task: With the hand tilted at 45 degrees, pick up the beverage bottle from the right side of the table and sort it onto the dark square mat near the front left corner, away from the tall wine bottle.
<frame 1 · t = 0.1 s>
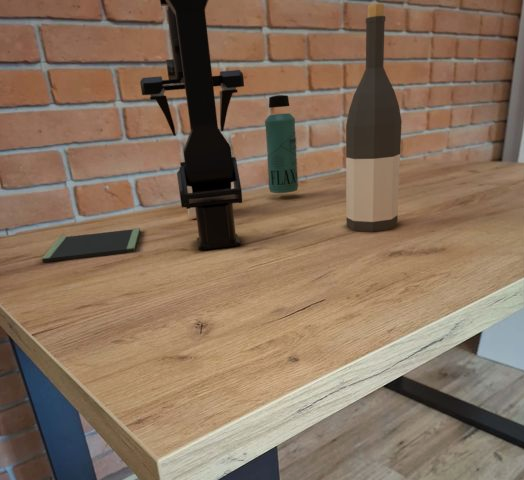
hand: (198, 133, 98), 15 cm above the table, tool pointing down, fingers open, 9 cm apart
dark square mat: (95, 245, 85), on the table
wine bottle: (371, 226, 83), on the table
beverage bottle: (284, 198, 111), on the table
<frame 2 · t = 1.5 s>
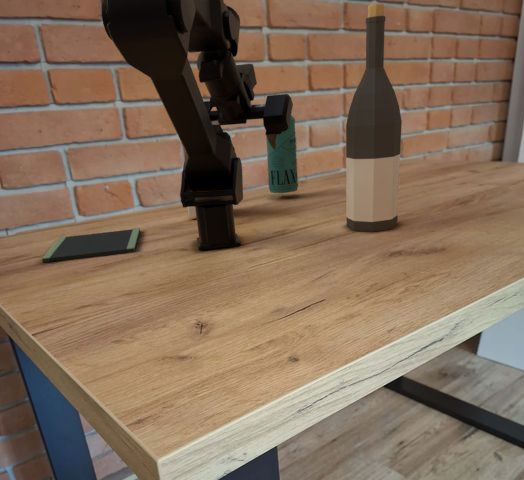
hand: (251, 148, 96), 11 cm above the table, tool tilted 45°, fingers open, 9 cm apart
nothing on the table moved.
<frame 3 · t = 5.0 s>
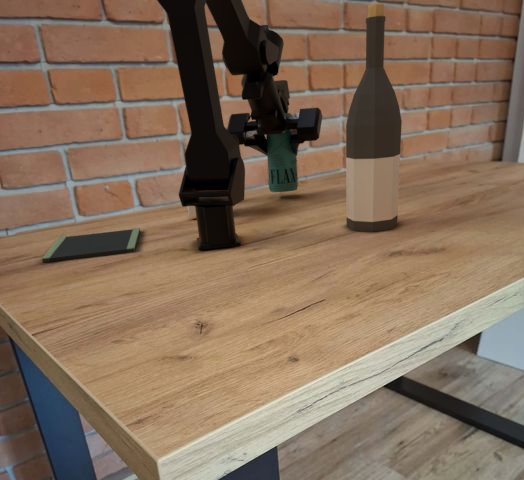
hand: (283, 154, 108), 9 cm above the table, tool tilted 45°, fingers closed on beverage bottle, 5 cm apart
beverage bottle: (284, 197, 111), on the table, touching gripper
everything else where it was.
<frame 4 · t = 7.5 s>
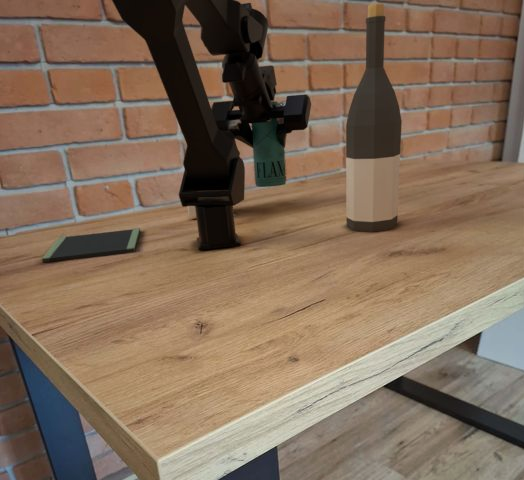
hand: (270, 146, 101), 11 cm above the table, tool tilted 45°, fingers closed on beverage bottle, 5 cm apart
beverage bottle: (271, 193, 103), point 2 cm above the table, touching gripper
everything else where it was.
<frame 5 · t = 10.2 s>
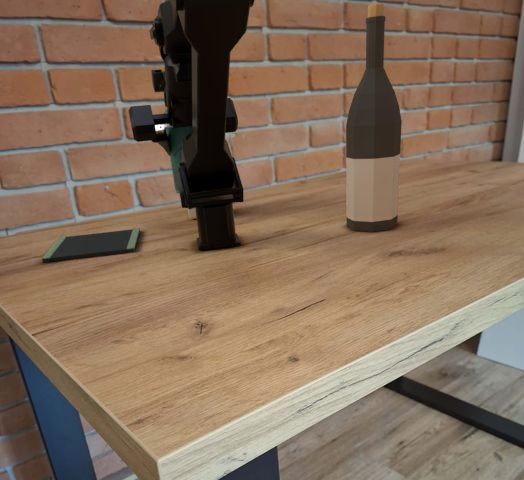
hand: (184, 152, 99), 12 cm above the table, tool tilted 45°, fingers closed on beverage bottle, 5 cm apart
beverage bottle: (192, 199, 101), point 3 cm above the table, touching gripper
everything else where it was.
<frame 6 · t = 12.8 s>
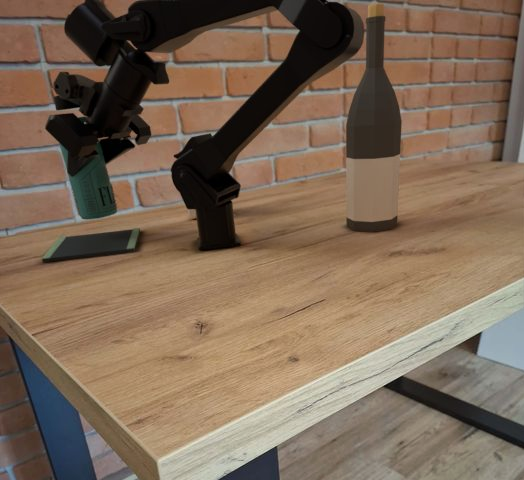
hand: (82, 171, 83), 11 cm above the table, tool tilted 45°, fingers closed on beverage bottle, 5 cm apart
beverage bottle: (101, 224, 87), point 3 cm above the table, touching gripper
everything else where it was.
when the fingers open (9 cm above the table, at t = 15.2 s): beverage bottle stays where it is, resting on dark square mat.
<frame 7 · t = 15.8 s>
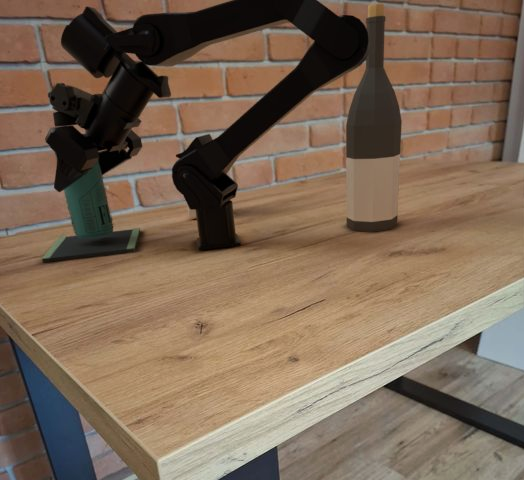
hand: (73, 184, 81), 10 cm above the table, tool tilted 45°, fingers open, 9 cm apart
beverage bottle: (96, 243, 85), resting on dark square mat
everything else where it was.
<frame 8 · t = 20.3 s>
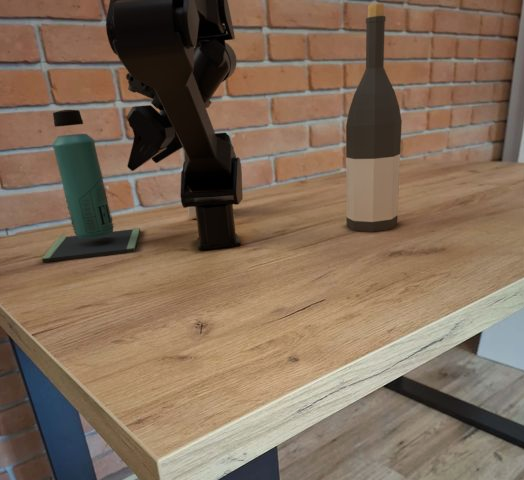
hand: (142, 164, 84), 12 cm above the table, tool tilted 45°, fingers open, 9 cm apart
nothing on the table moved.
at the end: beverage bottle inside the target area on the dark square mat (0.3 cm from its centre), point 0.4 cm above the dark square mat's base; beverage bottle tilted 0°; the gripper is holding nothing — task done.
